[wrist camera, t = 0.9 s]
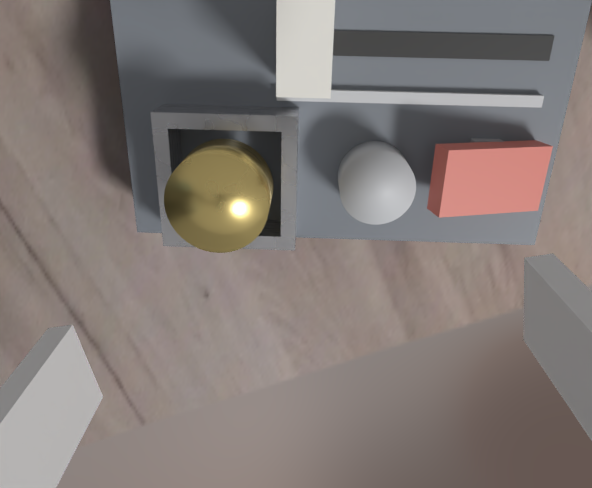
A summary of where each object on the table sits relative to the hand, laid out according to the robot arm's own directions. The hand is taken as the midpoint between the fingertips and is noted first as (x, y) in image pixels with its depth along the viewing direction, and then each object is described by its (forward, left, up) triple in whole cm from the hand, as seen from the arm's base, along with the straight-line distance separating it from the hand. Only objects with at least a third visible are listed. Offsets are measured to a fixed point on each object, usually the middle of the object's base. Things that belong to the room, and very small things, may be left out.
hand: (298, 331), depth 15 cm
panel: (+2, +4, -20) cm, 20 cm away
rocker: (+10, +1, -14) cm, 17 cm away
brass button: (-4, 0, -13) cm, 14 cm away
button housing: (-4, 0, -16) cm, 16 cm away
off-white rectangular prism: (0, +7, -16) cm, 17 cm away
